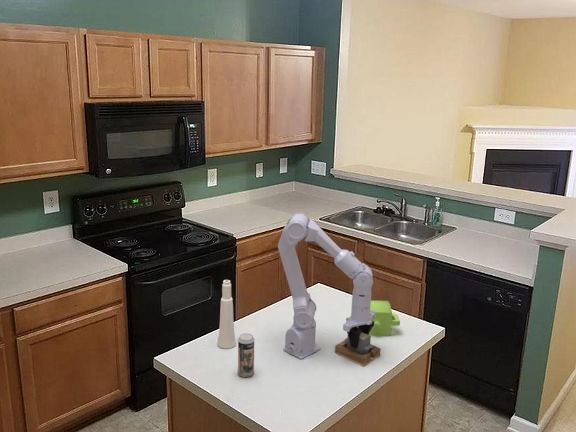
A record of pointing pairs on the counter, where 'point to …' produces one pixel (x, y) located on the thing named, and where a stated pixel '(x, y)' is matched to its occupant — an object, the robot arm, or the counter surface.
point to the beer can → (246, 355)
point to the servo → (361, 344)
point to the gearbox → (382, 318)
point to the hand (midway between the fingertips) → (358, 344)
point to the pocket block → (357, 354)
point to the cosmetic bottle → (226, 318)
